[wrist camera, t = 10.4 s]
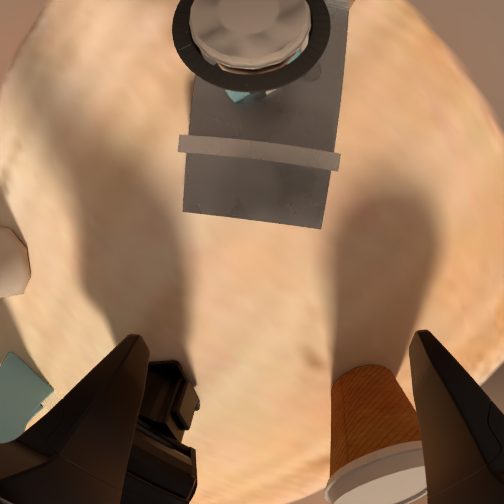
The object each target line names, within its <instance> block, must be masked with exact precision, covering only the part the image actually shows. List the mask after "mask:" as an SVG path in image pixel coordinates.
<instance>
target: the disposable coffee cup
mask: <svg viewBox="0 0 504 504" xmlns="http://www.w3.org/2000/svg"><path fill="white" fill-rule="evenodd" d="M425 494H427V485H426V475H425V466H424V457H423V450H422V442H421V436H420V429H419V423H418V417H417V412H416V411H415V409H414V408H413V406H412V404H411V403H410V401H409V400H408V398H407V396H406V395H405V393H404V392H403V390H402V388H401V387H400V385H399V384H398V382H397V380H396V379H395V377H394V376H393V374H392V372H391V371H390V370H389V369H387V368H385V367H383V366H379V365H366V366H361V367H358V368H356V369H353V370H351V371H349V372H347V373H346V374H344V375H343V376H342V377H340V378H339V379H338V380H337V381H336V383H335V384H334V386H333V388H332V391H331V453H330V479H329V480H328V483H327V486H326V488H325V492H324V497H325V499H326V500H327V501H328V502H330V504H409V503H411V502H413V501H415V500H417V499H419V498H421V497H422V496H424V495H425Z"/></svg>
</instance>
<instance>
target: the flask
mask: <svg viewBox="0 0 504 504" xmlns="http://www.w3.org/2000/svg"><path fill="white" fill-rule="evenodd" d="M30 278H31V275H30V269H29V262H28V255H27V249H26V248H25V246H24V245H23V244H22V243H21V242H20V240H19V239H18V238H17V237H16V235H15V234H14V233H13V232H12V231H11V229H10V228H6V227H1V226H0V298H1V297H8V296H14V295H20V294H23V293H24V291H25V289H26V286H27V284H28V282H29V280H30Z"/></svg>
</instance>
